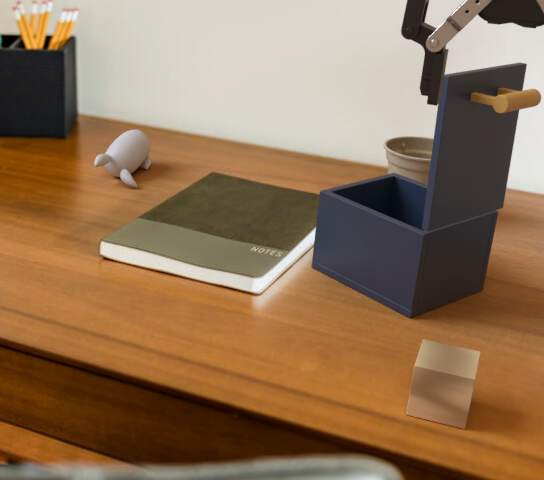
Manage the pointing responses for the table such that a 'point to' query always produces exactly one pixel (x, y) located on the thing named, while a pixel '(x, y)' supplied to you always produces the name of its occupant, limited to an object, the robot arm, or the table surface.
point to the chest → (399, 245)
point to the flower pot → (409, 156)
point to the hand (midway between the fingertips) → (495, 111)
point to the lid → (474, 142)
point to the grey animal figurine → (126, 156)
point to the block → (443, 383)
